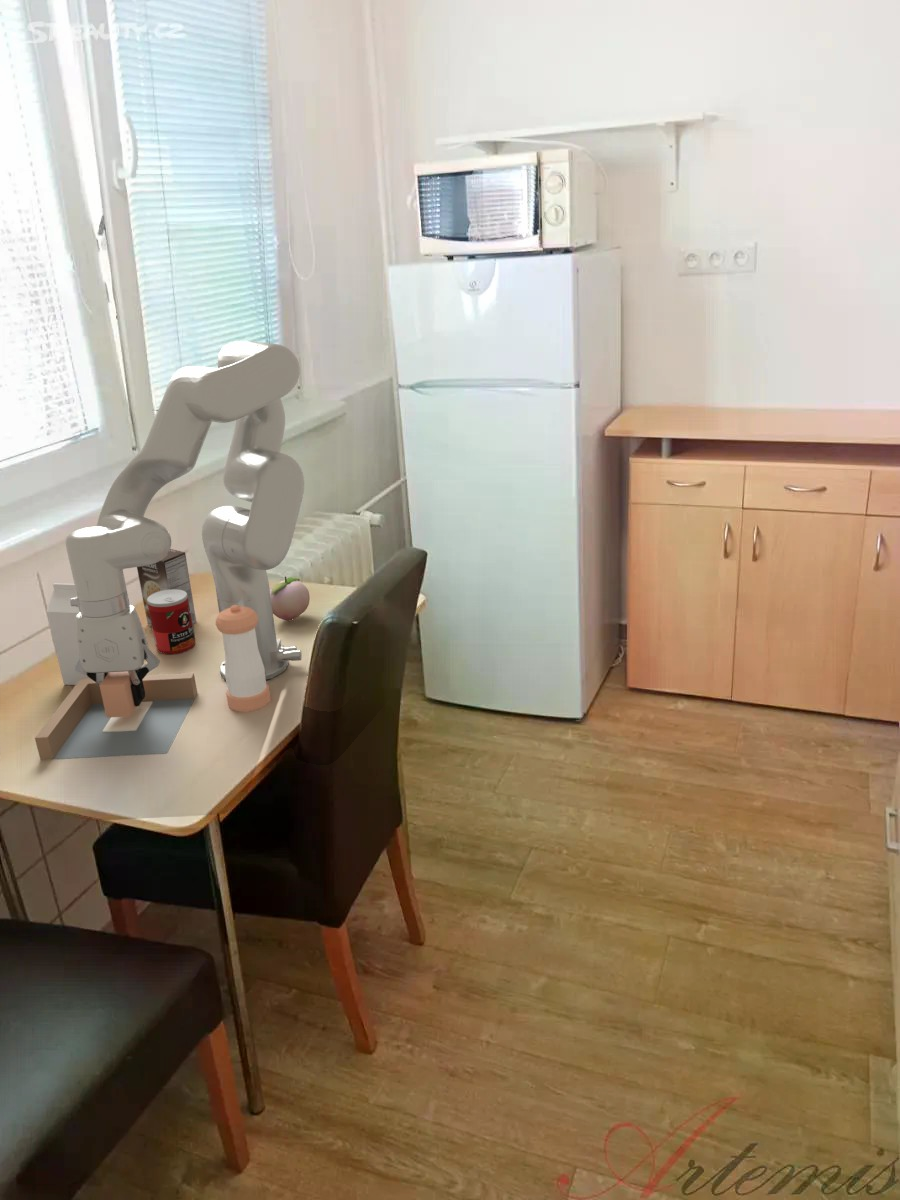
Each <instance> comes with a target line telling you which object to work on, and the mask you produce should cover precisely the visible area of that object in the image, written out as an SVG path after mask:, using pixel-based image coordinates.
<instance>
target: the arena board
mask: <svg viewBox="0 0 900 1200" xmlns="http://www.w3.org/2000/svg"><path fill="white" fill-rule="evenodd" d="M142 680H143V685H144V690H145V698H144V699H143V700H142V702H141V703H140V705H139V706H137V707H136V709H135V710H134V712H133V714H132V715H131V716H129V717H110V718H107V717H106V713H105V708H104V704H103V699H102V695H101V690H100V687H99V686H97V684H96V682H95V681H93V680H92V679H90V678H87V679H80V680H79V682H78V683H77V684H76V685H74V687H73V688H72V689H71V691H70V692H69V693H68V694H67V696H66V697H65V698H64V699H63V701H62V702H61V703H60V705H59V706H58V708H56V710H55V711H54V712H53V714H52V715H51V717H50V718H49V719H48V720H47V721H46V723H45V724H44V725H43V727H42V728H41V729H40V730H39V732H38V733H37V734H36V735H35V736H34V739H35V744H36V748H37V752H38V756H39V760H40V761H48V760H53V761H54V760H66V759H67V760H70V759H88V758H108V757H125V756H144V755H147V756H148V755H164V754H167V753H169V750H170V749H171V747H172V744H173V742H174V741H175V738H176V737H177V734H178V733H179V730H180V729H181V726H182V724H183V723H184V721H185V719H186V717H187V715H188V713H189V711H190V709H191V706H192V705H193V703H194V701H195V699H196V697H197V695H198V690H197V689H198V688H197V682H196V677H195V672H184V673H167V674H166V673H164V674H147V675H146V676H145V677H144V678H143V679H142Z"/></svg>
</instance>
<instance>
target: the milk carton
mask: <svg viewBox="0 0 900 1200" xmlns="http://www.w3.org/2000/svg"><path fill="white" fill-rule="evenodd" d="M52 587H53V592H52V594H51V596H50V600H49V602H48V605H47V609H46V611H45V612H46V615H47V619H48V623H49V628H50V632H51V636H52V641H53V644H54V649H55V652H56V653H55V654H56V656H57V661H58V665H59V668H60V675H61V678H62V682H63V684H64V685H65V686H66V685H67V686H69V685H70V686H75V685H76V684H77V683H78V682H79V680H80V679H87V678H89V677H88V676H87V675H84V674H82V673H80V672H78V671H76V670H75V667H76V664H77V662H78V660H79V652H78V644H77V632H76V616H77V614H78V613H80V612H79V608H78V607H76V606H71V604H70V600H71V598H76V597H77V593H76V588H75V584H74V583H52Z"/></svg>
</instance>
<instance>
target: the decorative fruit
mask: <svg viewBox="0 0 900 1200" xmlns="http://www.w3.org/2000/svg"><path fill="white" fill-rule="evenodd" d="M270 597H271V604H272V611H273V616H275V617H277V618H279V619H280V620H282V621H283V620H284V621H286V622H287V621H288V622H290V621H289V620H292V619H293V620H295V619H296V618H298V617H300V615H302V614H303V613H305V612H306V610H307V609H308V608H309V605H310V597H311V596H310V592H309V589H308V588H307V586H306V585H305V584H304V583H302V582H301V580H300V578H299V577H295V576H290V577H288V578H287V576H284V579H283V580H281V581H280V582H278V583H277V584H275V585H273V587H272V588H271V589H270ZM293 620H292V621H293Z"/></svg>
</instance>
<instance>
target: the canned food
mask: <svg viewBox="0 0 900 1200" xmlns="http://www.w3.org/2000/svg"><path fill="white" fill-rule="evenodd" d="M147 601H148V602H147V603H148V609H149V614H150V619H151V624H152V626H151V628H152V633H153V638H154V643H155V647H156V649H157V651H158V652H159V653H160V654H164V655H177V654H178V655H179V654H183V653H185V652H188V651H190V650H191V649H193V648H194V646H195V644H196V638H195V637H196V636H195V632H194V631H195V630H194V626H193V625H194V624H192V618H191V612H190V606H189V601H188V596H187V593H186V592H185V591H183V590H177V589H170V590H163V591H159V592H156V593H154V594H152V595H150V596H149V597H148V598H147Z"/></svg>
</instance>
